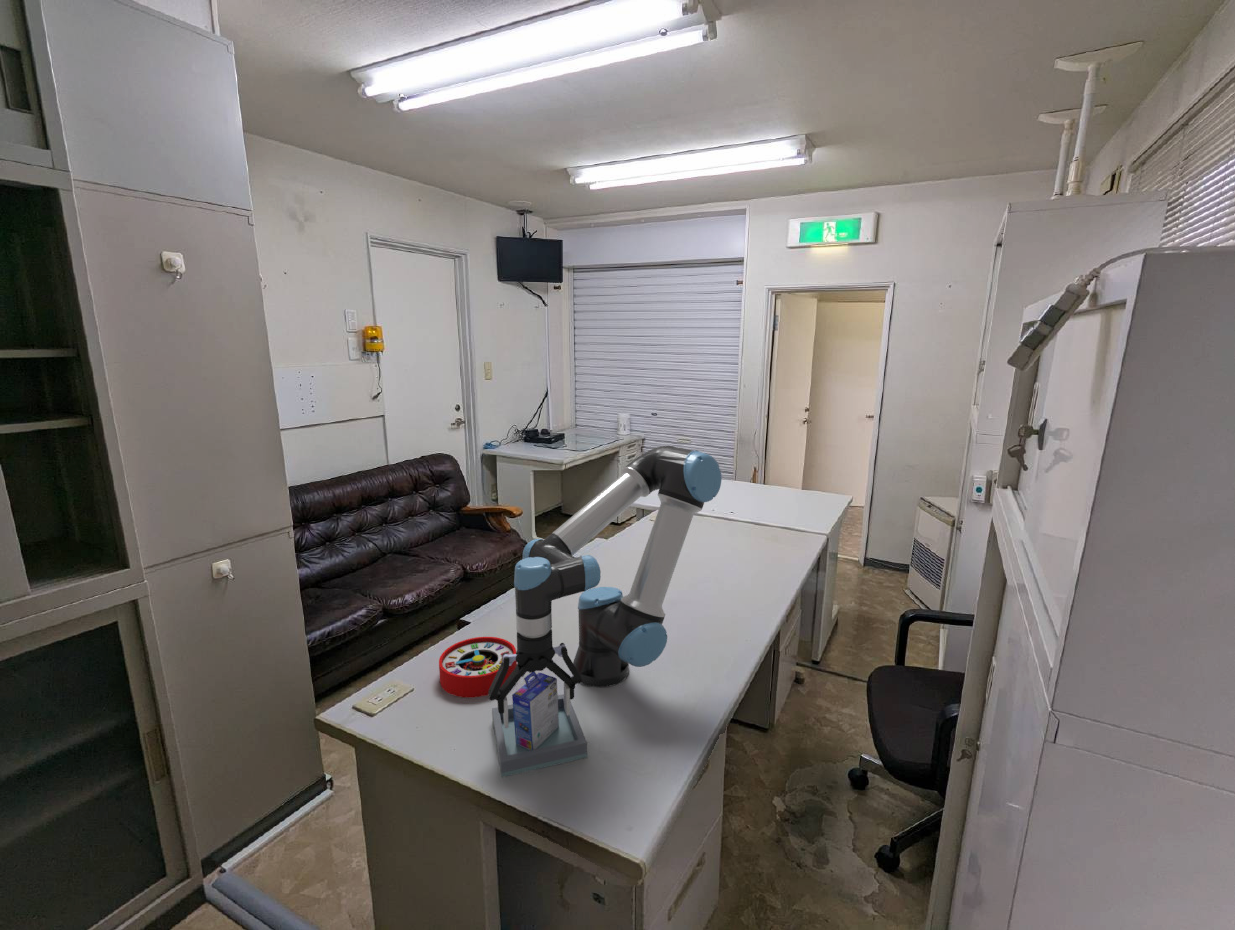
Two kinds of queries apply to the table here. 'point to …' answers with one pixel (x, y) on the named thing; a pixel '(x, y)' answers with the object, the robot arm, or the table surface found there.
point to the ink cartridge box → (535, 710)
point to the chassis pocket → (554, 750)
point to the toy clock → (473, 665)
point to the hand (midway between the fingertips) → (537, 718)
